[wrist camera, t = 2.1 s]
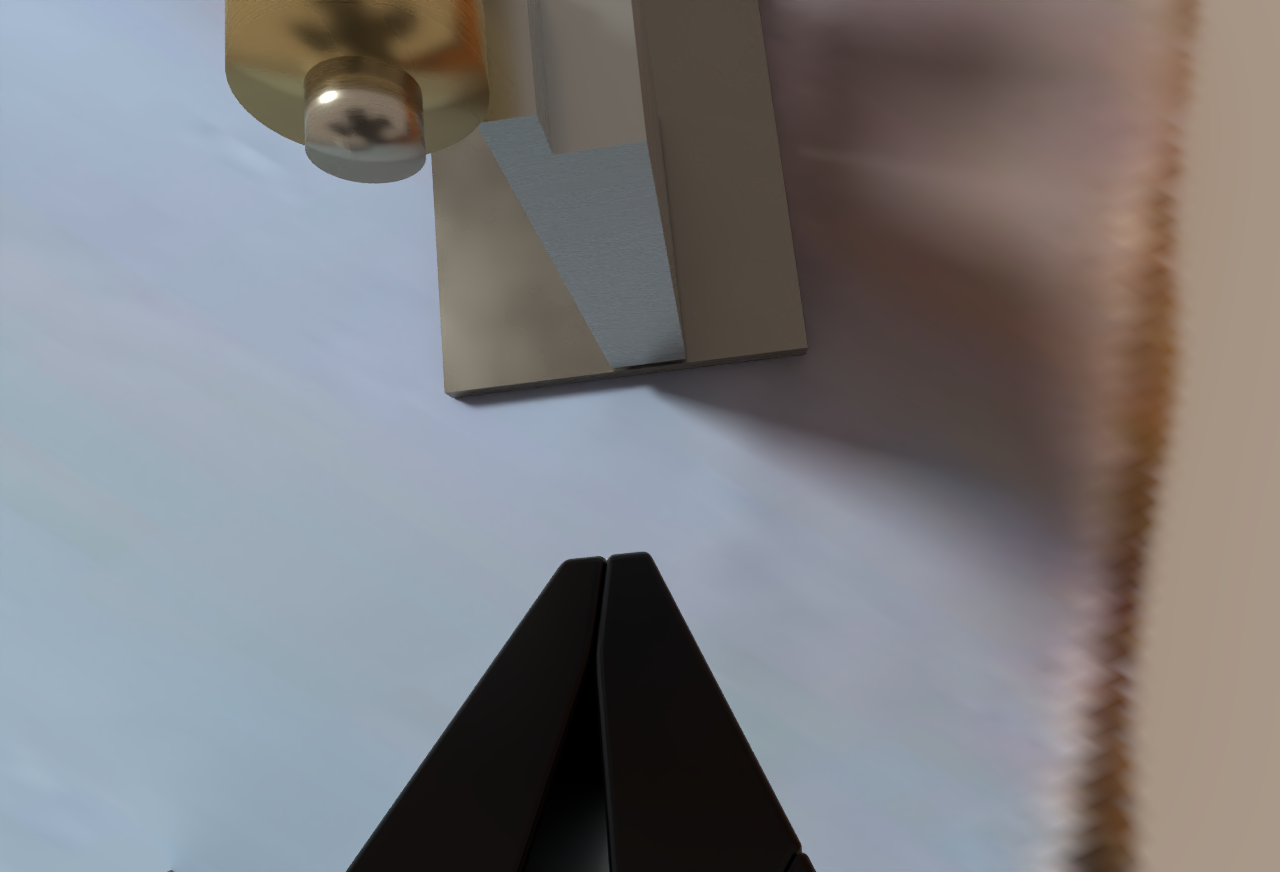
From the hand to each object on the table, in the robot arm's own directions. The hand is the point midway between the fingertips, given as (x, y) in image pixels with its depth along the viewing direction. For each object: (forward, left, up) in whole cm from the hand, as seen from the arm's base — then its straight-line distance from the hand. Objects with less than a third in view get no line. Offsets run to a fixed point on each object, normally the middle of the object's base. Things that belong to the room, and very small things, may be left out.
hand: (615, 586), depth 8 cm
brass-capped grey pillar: (+5, +5, -9) cm, 12 cm away
